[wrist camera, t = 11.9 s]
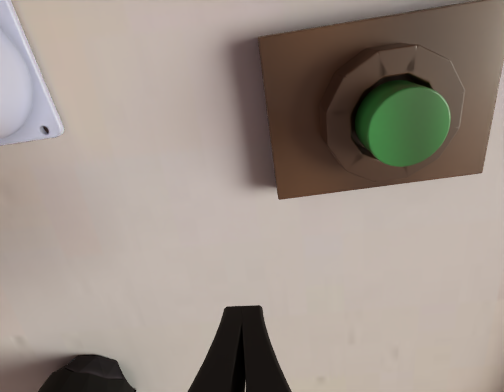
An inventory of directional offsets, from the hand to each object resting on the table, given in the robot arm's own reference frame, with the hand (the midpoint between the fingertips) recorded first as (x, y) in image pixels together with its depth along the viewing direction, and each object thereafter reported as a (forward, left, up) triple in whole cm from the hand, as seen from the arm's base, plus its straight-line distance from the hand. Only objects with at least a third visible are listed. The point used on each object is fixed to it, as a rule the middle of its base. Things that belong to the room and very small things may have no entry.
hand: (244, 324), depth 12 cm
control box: (+8, +5, -10) cm, 14 cm away
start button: (+8, +5, -7) cm, 12 cm away
